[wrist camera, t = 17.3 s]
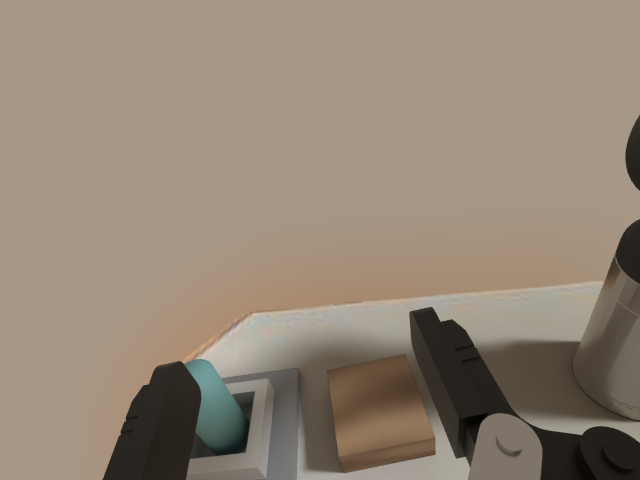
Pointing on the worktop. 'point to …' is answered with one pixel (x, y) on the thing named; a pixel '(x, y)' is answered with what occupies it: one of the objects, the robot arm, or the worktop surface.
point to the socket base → (257, 431)
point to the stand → (378, 414)
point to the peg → (218, 412)
